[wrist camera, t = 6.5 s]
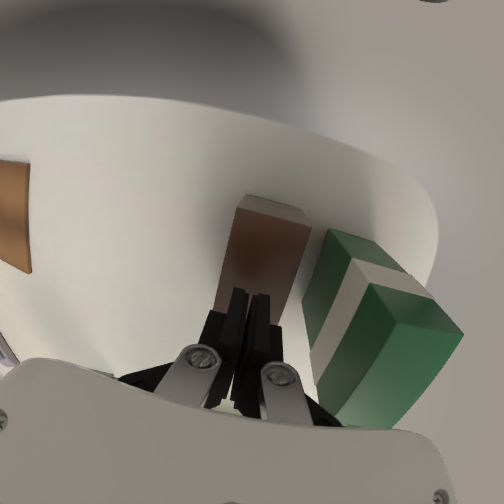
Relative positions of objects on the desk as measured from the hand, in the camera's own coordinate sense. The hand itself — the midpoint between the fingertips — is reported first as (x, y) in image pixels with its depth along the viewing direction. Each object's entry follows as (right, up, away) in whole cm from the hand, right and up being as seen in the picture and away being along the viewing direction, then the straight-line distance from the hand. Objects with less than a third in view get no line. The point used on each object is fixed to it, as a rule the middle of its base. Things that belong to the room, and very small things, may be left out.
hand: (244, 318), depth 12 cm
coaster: (-28, +8, +8) cm, 31 cm away
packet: (+5, +2, +8) cm, 10 cm away
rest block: (+1, +3, +8) cm, 9 cm away
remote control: (-44, -11, +16) cm, 48 cm away
